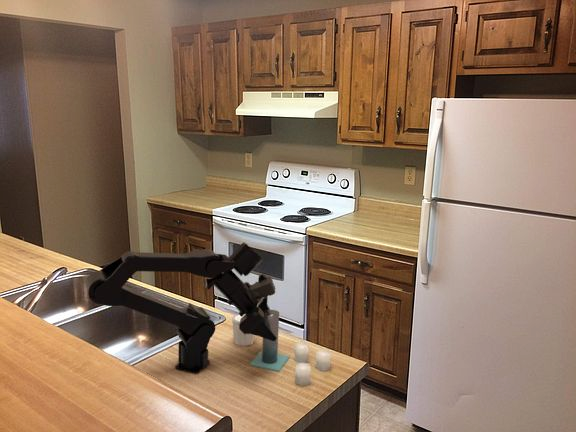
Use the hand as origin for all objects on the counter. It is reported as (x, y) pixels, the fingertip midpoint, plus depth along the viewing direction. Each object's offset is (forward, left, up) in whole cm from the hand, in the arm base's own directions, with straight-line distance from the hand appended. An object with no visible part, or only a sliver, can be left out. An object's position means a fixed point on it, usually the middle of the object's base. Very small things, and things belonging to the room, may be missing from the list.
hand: (276, 331), depth 125 cm
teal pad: (-1, 0, -8) cm, 8 cm away
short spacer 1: (+6, +4, -8) cm, 11 cm away
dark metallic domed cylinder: (-1, 0, -8) cm, 8 cm away
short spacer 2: (+10, -7, -8) cm, 14 cm away
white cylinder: (-12, +8, -8) cm, 17 cm away
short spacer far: (+12, +2, -8) cm, 15 cm away
